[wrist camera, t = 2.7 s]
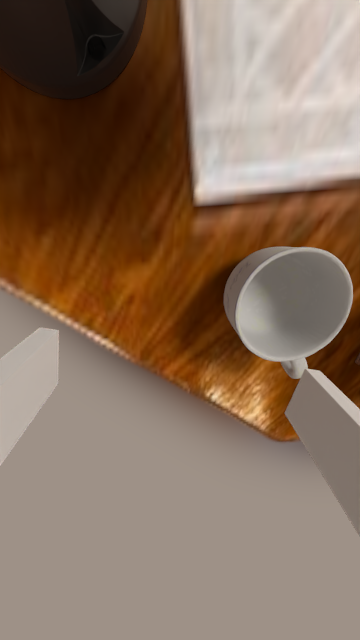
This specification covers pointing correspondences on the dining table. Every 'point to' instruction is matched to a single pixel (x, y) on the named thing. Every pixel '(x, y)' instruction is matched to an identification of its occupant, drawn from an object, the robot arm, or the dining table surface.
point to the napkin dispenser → (358, 360)
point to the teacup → (288, 303)
